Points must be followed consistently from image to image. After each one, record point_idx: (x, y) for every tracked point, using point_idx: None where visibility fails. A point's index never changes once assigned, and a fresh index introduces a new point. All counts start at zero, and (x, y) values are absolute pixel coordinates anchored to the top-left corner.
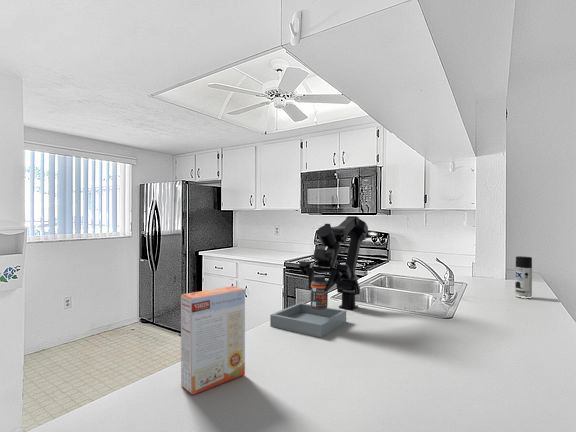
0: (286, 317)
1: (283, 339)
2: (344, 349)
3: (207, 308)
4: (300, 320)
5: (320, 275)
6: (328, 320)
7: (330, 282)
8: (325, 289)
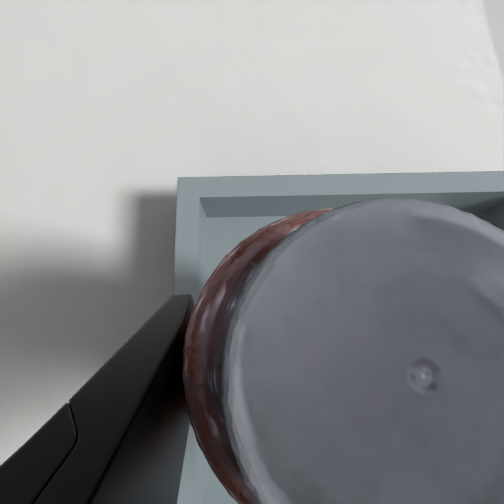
0: (427, 181)
1: (321, 99)
2: (49, 147)
3: None
4: (323, 181)
5: (423, 458)
6: (179, 280)
7: (85, 390)
8: (185, 293)
